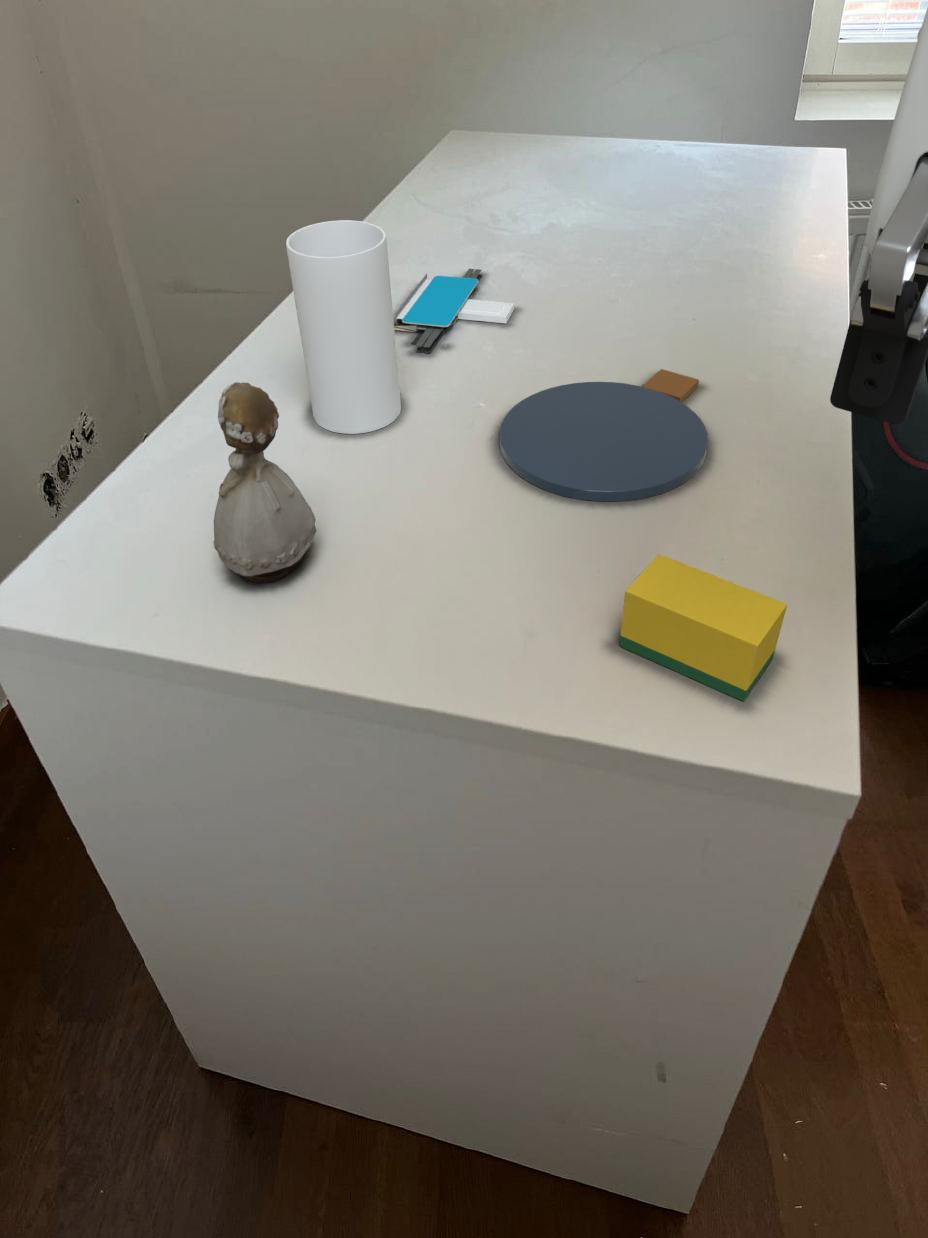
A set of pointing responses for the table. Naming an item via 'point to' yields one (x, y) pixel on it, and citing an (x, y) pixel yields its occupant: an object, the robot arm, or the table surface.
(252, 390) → the figurine
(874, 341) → the robot arm
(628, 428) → the plate
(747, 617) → the sponge
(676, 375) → the brown square tile
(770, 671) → the table surface
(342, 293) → the cup
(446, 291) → the phone stand
